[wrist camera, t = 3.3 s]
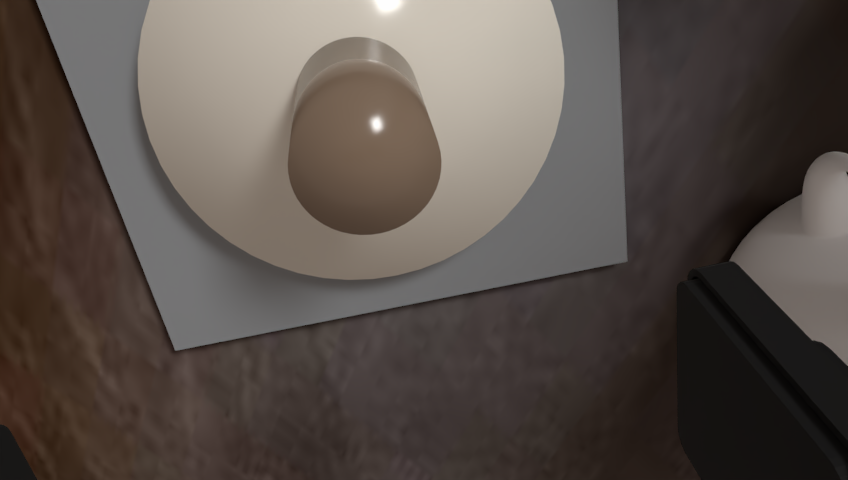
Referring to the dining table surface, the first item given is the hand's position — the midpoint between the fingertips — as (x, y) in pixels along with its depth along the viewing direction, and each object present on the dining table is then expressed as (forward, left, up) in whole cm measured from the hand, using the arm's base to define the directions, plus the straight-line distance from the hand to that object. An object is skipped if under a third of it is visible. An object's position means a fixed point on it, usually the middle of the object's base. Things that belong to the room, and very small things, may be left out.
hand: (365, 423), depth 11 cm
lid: (0, 0, -14) cm, 14 cm away
